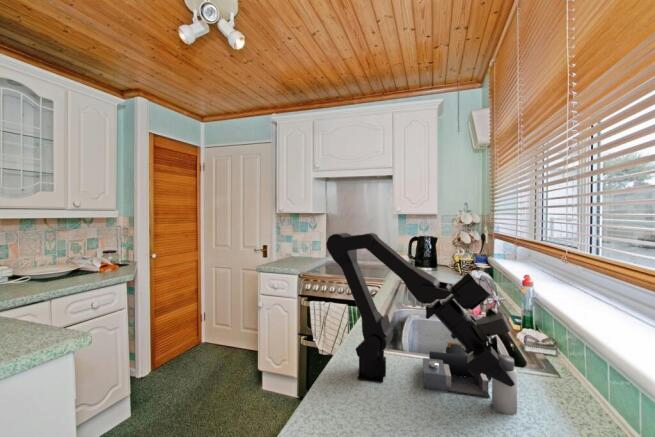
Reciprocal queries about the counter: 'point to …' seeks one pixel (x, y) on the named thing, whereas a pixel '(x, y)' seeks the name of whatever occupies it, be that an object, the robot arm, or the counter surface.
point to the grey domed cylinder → (505, 389)
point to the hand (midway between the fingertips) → (511, 379)
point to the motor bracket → (452, 380)
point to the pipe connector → (454, 359)
